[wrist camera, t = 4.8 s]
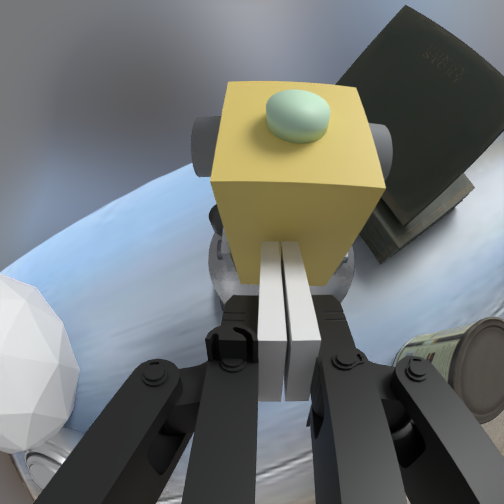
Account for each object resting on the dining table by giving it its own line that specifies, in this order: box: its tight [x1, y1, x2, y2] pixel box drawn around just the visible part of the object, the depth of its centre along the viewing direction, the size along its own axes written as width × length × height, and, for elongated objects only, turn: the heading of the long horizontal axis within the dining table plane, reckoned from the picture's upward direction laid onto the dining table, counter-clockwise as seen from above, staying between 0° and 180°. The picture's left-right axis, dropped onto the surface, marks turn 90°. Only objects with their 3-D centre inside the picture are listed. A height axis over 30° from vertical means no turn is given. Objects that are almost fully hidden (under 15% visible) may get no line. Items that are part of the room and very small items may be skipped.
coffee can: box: [393, 317, 504, 424], centre depth 24 cm, size 10×10×14 cm
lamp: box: [0, 274, 84, 490], centre depth 22 cm, size 22×34×24 cm, turn 28°
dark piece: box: [336, 5, 504, 264], centre depth 29 cm, size 23×20×25 cm
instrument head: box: [191, 81, 393, 286], centre depth 16 cm, size 6×9×13 cm, turn 87°
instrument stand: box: [208, 204, 354, 312], centre depth 27 cm, size 14×14×17 cm
